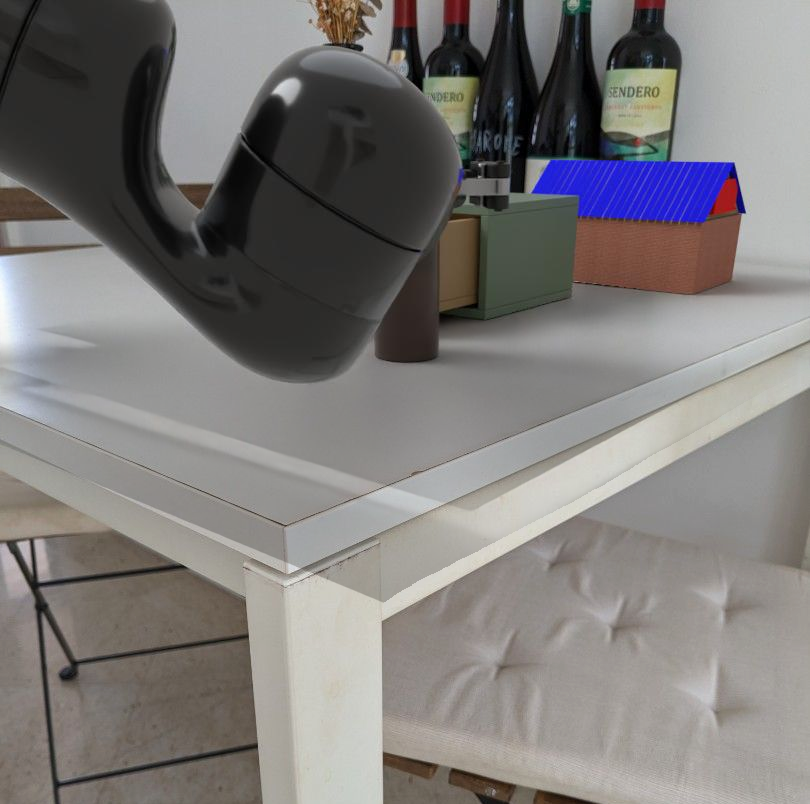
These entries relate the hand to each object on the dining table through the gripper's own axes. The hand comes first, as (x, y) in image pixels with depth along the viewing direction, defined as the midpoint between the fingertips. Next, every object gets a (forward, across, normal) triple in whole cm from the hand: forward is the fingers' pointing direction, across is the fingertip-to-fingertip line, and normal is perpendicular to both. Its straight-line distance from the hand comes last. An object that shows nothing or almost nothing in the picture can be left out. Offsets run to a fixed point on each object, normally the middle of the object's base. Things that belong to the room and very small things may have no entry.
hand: (409, 178), depth 59 cm
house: (+34, +20, -12) cm, 42 cm away
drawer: (+10, -2, -11) cm, 15 cm away
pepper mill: (-3, 0, -12) cm, 12 cm away
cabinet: (+20, +4, -12) cm, 23 cm away
